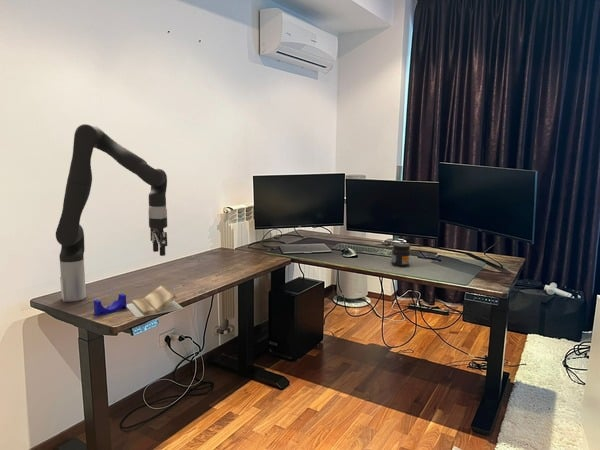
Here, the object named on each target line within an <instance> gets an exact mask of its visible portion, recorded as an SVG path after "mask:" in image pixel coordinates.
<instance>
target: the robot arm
mask: <svg viewBox="0 0 600 450" xmlns="http://www.w3.org/2000/svg"><path fill="white" fill-rule="evenodd" d="M73 135H74V136H73V147H72V156H71V162H70V165H69V166H70V167H69V170H68V175H67V179H66V185H65V190H64V191H65V192H64V197H63V204H62V210H61V215H60V218H59V221H58V225H57V228H56V229H55V239H56V241H57V243H58V244H59V245H61V249H60V253H59V255H58V256H59V266H60V267H59V268H60V270H59V271H60V278H59V279H60V281H59V282H60V291H61V292H60V293H61V300H62V301H63V302H65V303H66V302H69V303H70V302H78V301H81V300H84V299H86V298H87V292H86V291H87V290H86V274H85V272H86V271H85V260H84V259H85V257H84V256H85V254H84V253H85V233H84V228H83V227H82V225H81V224H80V222H81V216H82V213H83V211H84V208H85V207H86V205H87V202H88V200H89V196H90V195H91V190H92V189H91V188H92V182H93V173H92V171H93V170H92V166H91V164H92V163H91V162H92V156H93V152H94V148H95V149H97V150H98V151H101V152H103V153H105V154H107V155H108V156H110V157H111V158H112V159H113V160H115V161H116V162H117V163H118V164H119V165H120V166H121V167H123V168H124V169H126V170H128V171H129V172H130V173H133V174H134V175H136V176H137V177H138V178H139V179H140V180H142V181H143V182H144V183H145V184H147V185H149V186H150V192H149V193H148V227H149V230H150V241H151V243H152V252H154V253H156V252H157V253H158V252H159V256H161V257H163V256H166V247H168V233H167V231H164V229H165V228H168V209H167V195H166V194H167V188H168V187H167V186H168V176H167V172H165V171H164V169H161V168H154V167H152V166H151V165H149V164H148V163H147V161H146V160H145V159H144V158H143V157H140V156H138V155H137V154H135V153H134V152H132V151H131V150H130V149H127V148H126V147H124V146H122V145H121V144H120V143H118V142H117V141H115V139H112V138H111V137H110V135H108V134H107V133H105V131H104V130H102V129H101V128H100V127H98V125H95V124H89V123H82V124H80V125H78V126H77V128H75V131H74V134H73Z"/></svg>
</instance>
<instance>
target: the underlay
mask: <svg viewBox="0 0 600 450" xmlns="http://www.w3.org/2000/svg"><path fill="white" fill-rule="evenodd" d="M126 306H127V310H129V312H131V314H132V315H133V316H134V317H135V318H136V319H138V318H139V319H140V318H145V317H150V316H155V315H159V314H164V313H169V312H175V311H180V310H184V307H183V306H181V305H180V304H179V303H177V302H176V301H175V299H174V300H173V301H172V302H170V303H169V304H168V305H166V306H165V307H164V308H163V309H161V310H160V311H159V312H158V311H157V310H156V312H157V313H154V314H149V315H143V314H142V313H141V312H140V311H139V310H138V309H137V308H136V307H135V306H134V305H133V303H132V302H131V303H126Z"/></svg>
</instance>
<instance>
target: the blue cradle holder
mask: <svg viewBox="0 0 600 450" xmlns="http://www.w3.org/2000/svg"><path fill="white" fill-rule="evenodd" d="M126 304H127V295H126V294H125V293H119V294H118V298H117V300H114V301H113V302H112V303H111V304H110V305H107V306H106V307H104V306H103V304H102V301H101V300H99V299H94V300H93V311H94V312H93V313H94V315H95V316H97V317H100V316H101V317H102V316H104V315H108V314H111V313H115V312H119V311H123V310H126V309H127V310H128V308H127V306H126Z"/></svg>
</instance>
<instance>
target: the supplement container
mask: <svg viewBox="0 0 600 450" xmlns="http://www.w3.org/2000/svg"><path fill="white" fill-rule="evenodd" d="M410 249H411V245H410V244H408V243H402V242H397V243H393V245H392V249H391V265H392V266H393V265H394V267H396V266H398V268H408V267H409V266H410V264H411V253H412V252H411V250H410ZM407 266H408V267H407Z"/></svg>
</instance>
